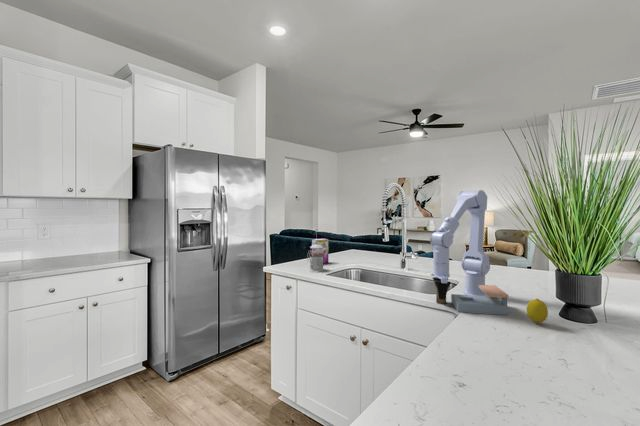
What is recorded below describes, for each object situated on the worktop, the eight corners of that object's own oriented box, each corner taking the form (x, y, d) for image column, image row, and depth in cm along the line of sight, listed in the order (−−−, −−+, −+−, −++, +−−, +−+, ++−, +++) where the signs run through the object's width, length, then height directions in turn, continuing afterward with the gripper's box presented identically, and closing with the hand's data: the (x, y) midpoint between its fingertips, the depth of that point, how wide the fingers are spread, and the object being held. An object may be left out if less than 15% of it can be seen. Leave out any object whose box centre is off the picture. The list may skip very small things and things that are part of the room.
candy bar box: (316, 265, 202) (316, 240, 202) (311, 264, 206) (311, 239, 206) (329, 263, 210) (328, 238, 209) (324, 262, 214) (324, 238, 213)
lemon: (551, 327, 95) (551, 301, 95) (531, 326, 96) (531, 300, 96) (542, 321, 100) (542, 296, 100) (523, 319, 102) (523, 295, 101)
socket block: (451, 301, 122) (451, 283, 122) (495, 303, 119) (495, 285, 119) (458, 312, 109) (458, 292, 109) (508, 315, 106) (508, 294, 106)
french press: (328, 269, 187) (328, 228, 186) (314, 272, 179) (313, 229, 178) (317, 267, 194) (316, 227, 193) (302, 270, 186) (302, 228, 185)
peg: (435, 301, 123) (435, 280, 123) (445, 301, 122) (445, 281, 122) (437, 303, 119) (437, 283, 119) (447, 304, 118) (447, 283, 118)
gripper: (428, 259, 128) (428, 292, 129) (432, 265, 114) (432, 302, 114) (446, 259, 127) (446, 292, 127) (453, 266, 113) (453, 303, 113)
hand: (441, 297), depth 121 cm, fingers closed on peg, 4 cm apart
